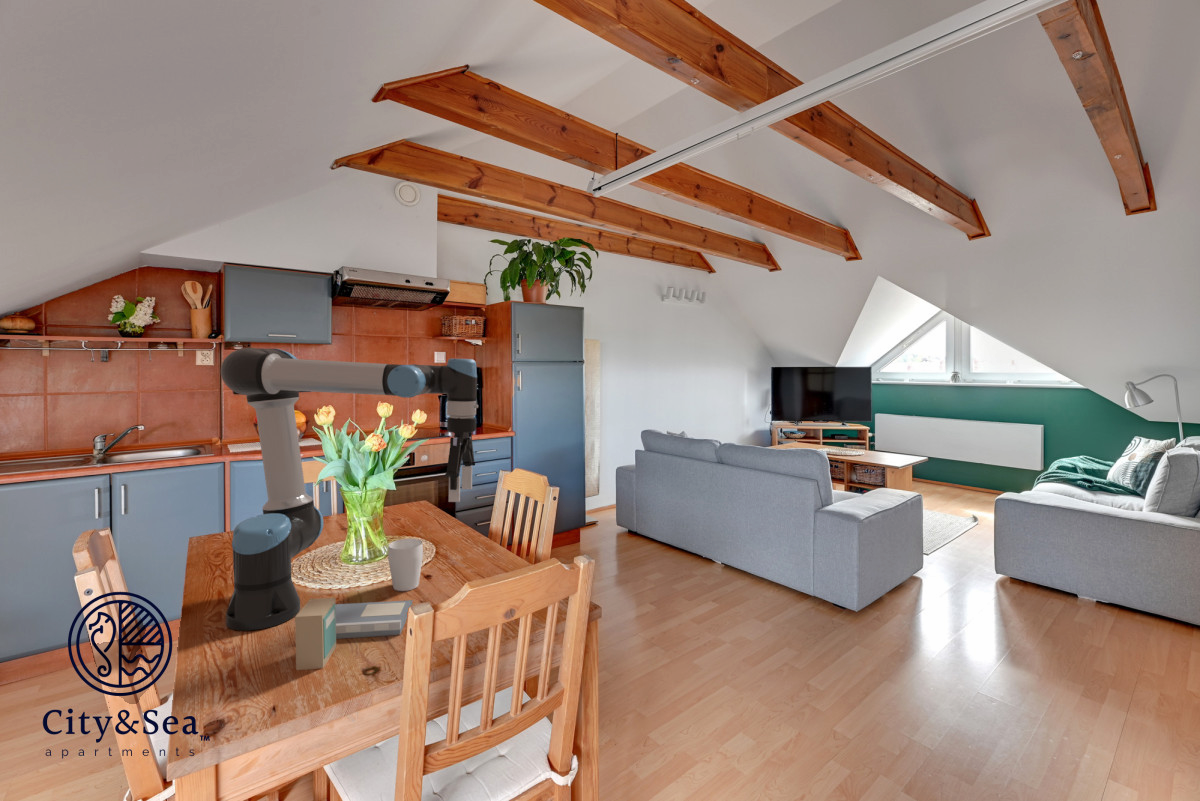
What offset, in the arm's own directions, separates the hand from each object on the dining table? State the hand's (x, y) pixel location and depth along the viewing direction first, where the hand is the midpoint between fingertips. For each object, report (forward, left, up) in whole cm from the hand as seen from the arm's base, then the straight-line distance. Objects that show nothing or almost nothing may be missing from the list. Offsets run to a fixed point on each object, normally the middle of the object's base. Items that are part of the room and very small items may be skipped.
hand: (460, 495), depth 142 cm
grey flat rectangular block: (-21, -15, -26) cm, 37 cm away
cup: (-15, +4, -26) cm, 31 cm away
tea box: (-26, -30, -26) cm, 48 cm away
